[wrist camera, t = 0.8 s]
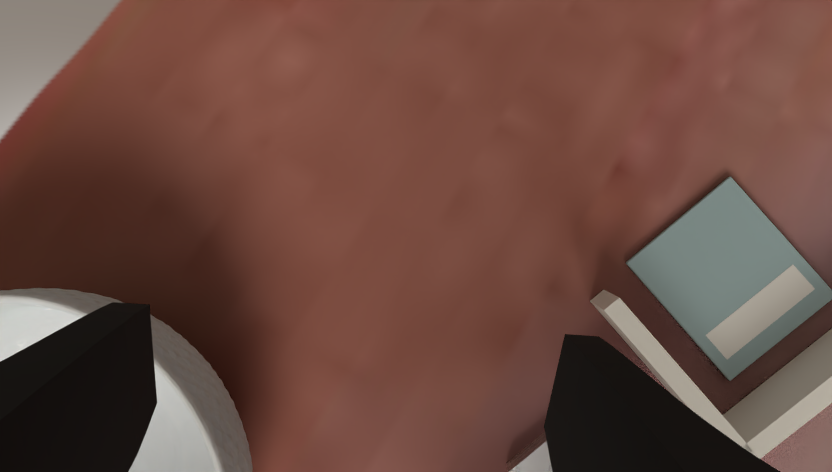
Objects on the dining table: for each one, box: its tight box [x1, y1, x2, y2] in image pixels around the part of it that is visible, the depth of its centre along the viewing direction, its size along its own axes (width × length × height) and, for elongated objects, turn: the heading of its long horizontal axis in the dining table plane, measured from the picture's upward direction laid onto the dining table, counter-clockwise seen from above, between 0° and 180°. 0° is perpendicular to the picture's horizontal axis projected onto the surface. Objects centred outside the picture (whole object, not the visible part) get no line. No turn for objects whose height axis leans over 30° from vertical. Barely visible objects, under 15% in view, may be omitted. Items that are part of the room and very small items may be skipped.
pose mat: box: [626, 177, 832, 381], centre depth 28 cm, size 7×6×1 cm
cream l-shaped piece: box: [590, 290, 832, 459], centre depth 26 cm, size 8×8×3 cm
